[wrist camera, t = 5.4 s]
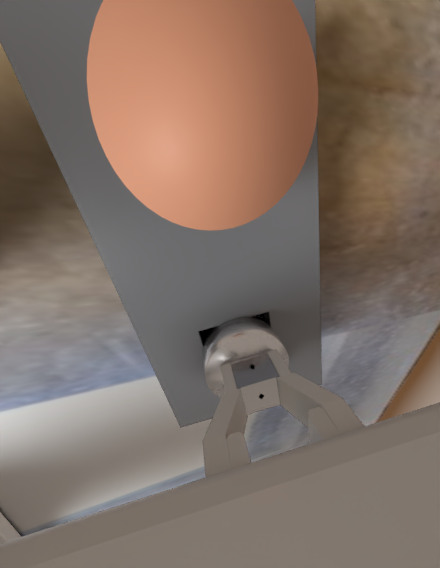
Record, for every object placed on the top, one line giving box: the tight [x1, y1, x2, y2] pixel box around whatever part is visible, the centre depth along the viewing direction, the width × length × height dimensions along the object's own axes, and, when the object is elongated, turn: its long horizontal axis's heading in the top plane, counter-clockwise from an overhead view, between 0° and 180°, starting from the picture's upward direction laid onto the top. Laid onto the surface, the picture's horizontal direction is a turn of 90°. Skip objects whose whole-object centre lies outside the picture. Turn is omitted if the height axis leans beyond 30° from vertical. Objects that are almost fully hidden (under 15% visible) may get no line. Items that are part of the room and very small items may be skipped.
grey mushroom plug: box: [202, 317, 289, 398], centre depth 14 cm, size 4×4×6 cm
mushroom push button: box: [87, 0, 318, 231], centre depth 7 cm, size 4×4×6 cm
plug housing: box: [0, 0, 322, 427], centre depth 13 cm, size 20×10×5 cm, turn 12°
